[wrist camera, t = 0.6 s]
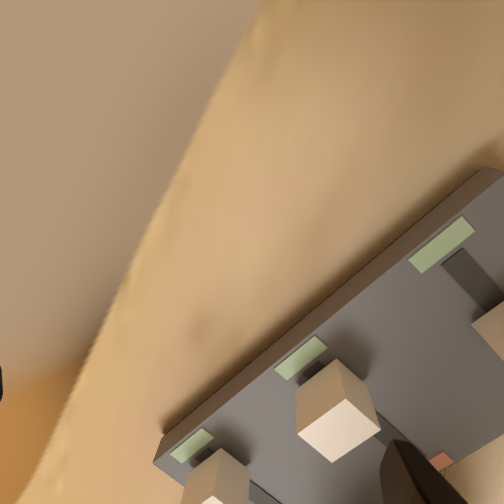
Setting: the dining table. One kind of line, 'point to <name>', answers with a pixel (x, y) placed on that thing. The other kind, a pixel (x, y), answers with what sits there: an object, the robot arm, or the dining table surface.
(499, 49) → the dining table surface
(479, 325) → the switch
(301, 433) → the middle switch
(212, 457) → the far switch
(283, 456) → the breaker panel
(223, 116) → the dining table surface
